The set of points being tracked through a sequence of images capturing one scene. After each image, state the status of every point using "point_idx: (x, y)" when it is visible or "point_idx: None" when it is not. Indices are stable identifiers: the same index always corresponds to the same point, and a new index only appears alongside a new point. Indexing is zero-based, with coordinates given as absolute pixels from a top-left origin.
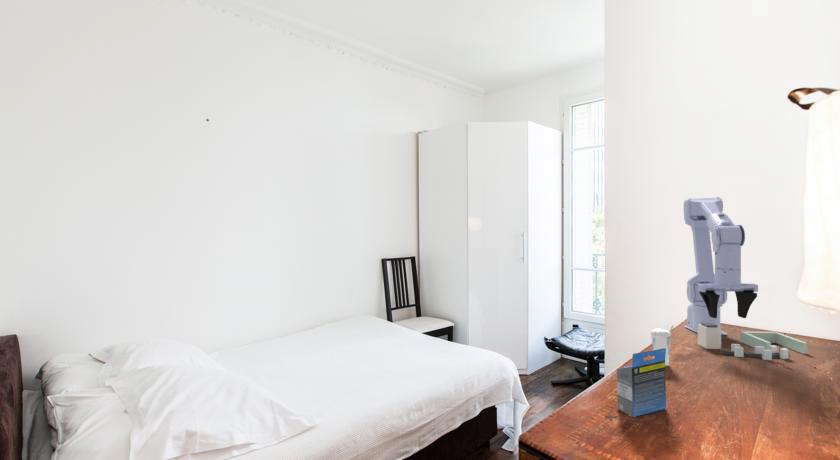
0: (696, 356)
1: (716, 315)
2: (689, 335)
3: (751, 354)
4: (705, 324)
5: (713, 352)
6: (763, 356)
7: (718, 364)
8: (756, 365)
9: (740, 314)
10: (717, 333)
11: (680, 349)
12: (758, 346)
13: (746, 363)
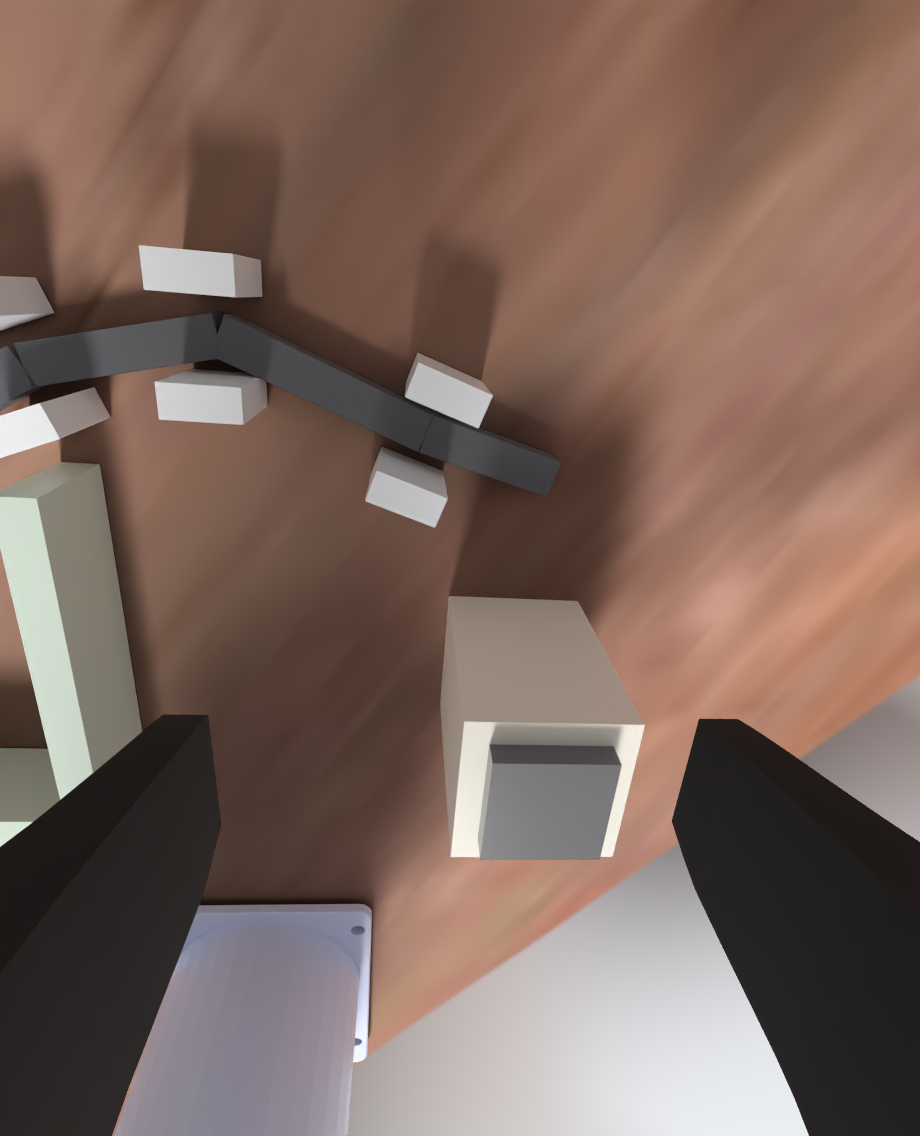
0: (837, 396)
1: (740, 740)
2: (461, 894)
3: (325, 365)
4: (609, 795)
5: (592, 503)
6: (253, 270)
7: (836, 139)
8: (466, 80)
9: (198, 822)
10: (501, 679)
11: (811, 583)
12: (200, 418)
13: (524, 158)
